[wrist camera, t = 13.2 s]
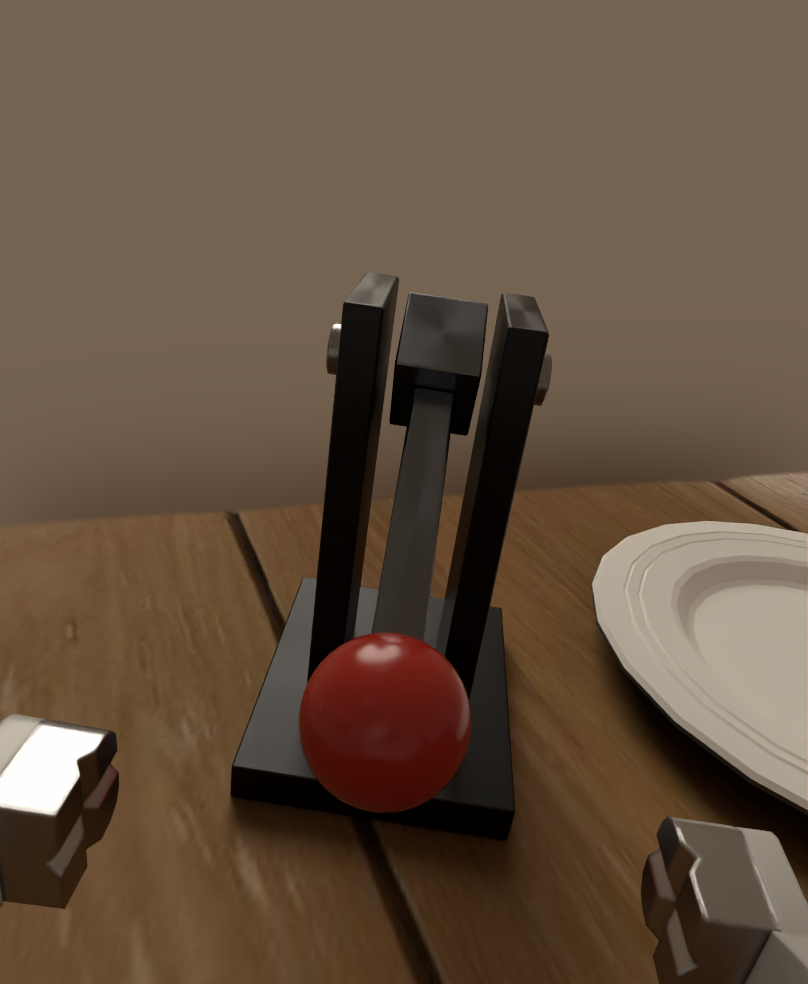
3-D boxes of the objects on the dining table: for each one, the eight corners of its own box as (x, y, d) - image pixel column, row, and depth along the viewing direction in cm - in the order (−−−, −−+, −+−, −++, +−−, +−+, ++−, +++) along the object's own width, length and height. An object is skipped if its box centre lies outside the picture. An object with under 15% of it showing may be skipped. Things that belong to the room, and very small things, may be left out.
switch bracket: (507, 841, 21) (636, 375, 15) (229, 797, 21) (249, 317, 15) (496, 632, 30) (574, 287, 24) (300, 601, 30) (331, 250, 24)
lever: (451, 842, 15) (477, 802, 12) (285, 816, 15) (275, 768, 13) (492, 380, 23) (513, 291, 20) (381, 364, 23) (388, 273, 20)
